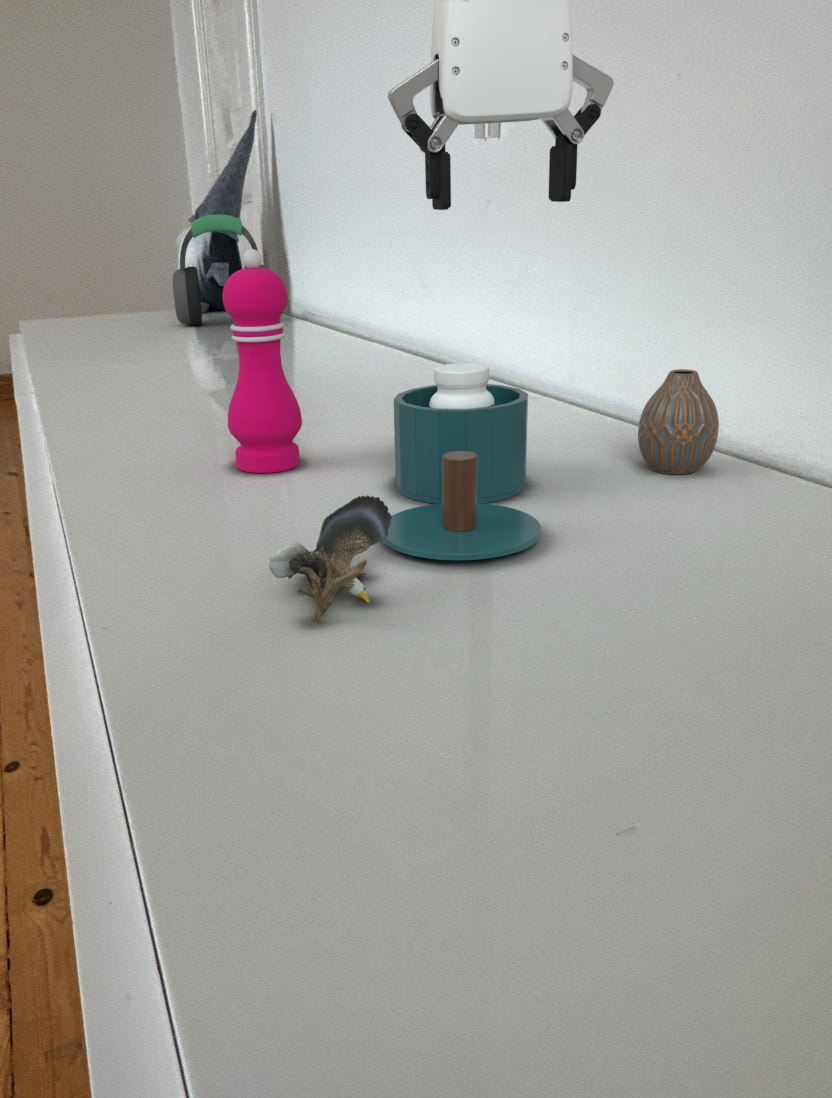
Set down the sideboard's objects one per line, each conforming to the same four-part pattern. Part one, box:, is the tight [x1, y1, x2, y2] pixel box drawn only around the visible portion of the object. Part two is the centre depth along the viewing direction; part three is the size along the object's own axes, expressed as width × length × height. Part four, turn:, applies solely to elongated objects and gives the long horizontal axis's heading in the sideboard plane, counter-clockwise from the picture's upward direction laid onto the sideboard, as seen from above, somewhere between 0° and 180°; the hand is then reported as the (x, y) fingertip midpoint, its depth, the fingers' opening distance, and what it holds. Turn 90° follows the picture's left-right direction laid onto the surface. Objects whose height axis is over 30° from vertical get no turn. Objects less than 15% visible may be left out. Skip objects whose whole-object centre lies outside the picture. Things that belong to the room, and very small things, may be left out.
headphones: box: [172, 213, 269, 326], centre depth 195 cm, size 19×11×20 cm, turn 97°
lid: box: [381, 451, 542, 561], centre depth 75 cm, size 12×12×7 cm
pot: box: [393, 383, 529, 504], centre depth 88 cm, size 11×11×8 cm
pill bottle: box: [429, 362, 494, 409], centre depth 87 cm, size 6×6×10 cm
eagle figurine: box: [268, 495, 392, 623], centre depth 66 cm, size 8×7×9 cm
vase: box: [637, 368, 720, 475], centre depth 90 cm, size 7×7×9 cm
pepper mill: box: [222, 248, 303, 474], centre depth 95 cm, size 7×7×20 cm
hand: (500, 205), depth 79 cm, fingers open, 9 cm apart
